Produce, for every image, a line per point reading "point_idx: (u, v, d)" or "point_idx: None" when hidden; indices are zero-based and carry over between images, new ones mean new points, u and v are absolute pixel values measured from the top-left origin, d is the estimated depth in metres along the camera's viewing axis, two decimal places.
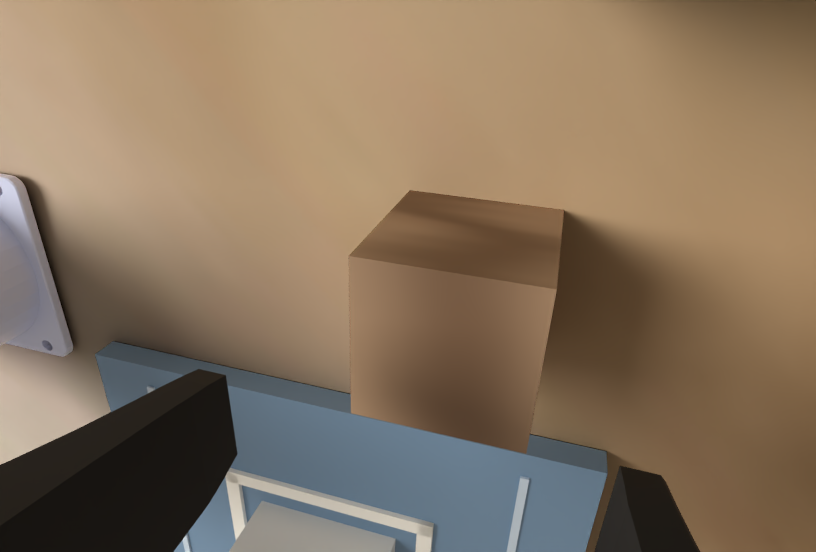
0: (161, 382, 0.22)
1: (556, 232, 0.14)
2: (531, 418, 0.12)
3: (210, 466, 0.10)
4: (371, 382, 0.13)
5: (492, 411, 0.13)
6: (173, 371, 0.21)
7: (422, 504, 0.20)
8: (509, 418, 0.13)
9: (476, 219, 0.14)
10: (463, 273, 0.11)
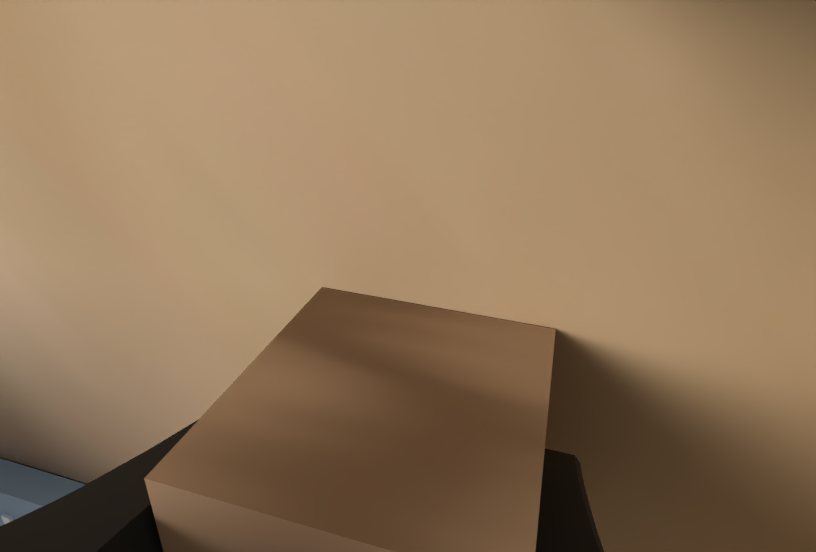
0: (18, 511, 0.16)
1: (540, 392, 0.08)
2: None
3: None
4: None
5: None
6: (30, 500, 0.16)
7: None
8: None
9: (409, 360, 0.09)
10: (349, 535, 0.06)
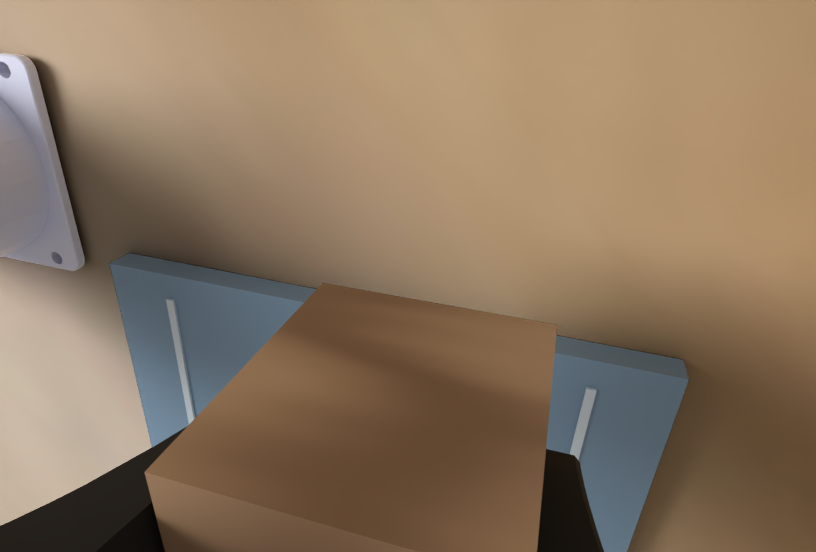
0: (183, 292, 0.20)
1: (542, 387, 0.08)
2: None
3: None
4: None
5: None
6: (195, 279, 0.19)
7: None
8: None
9: (410, 355, 0.09)
10: (349, 528, 0.06)
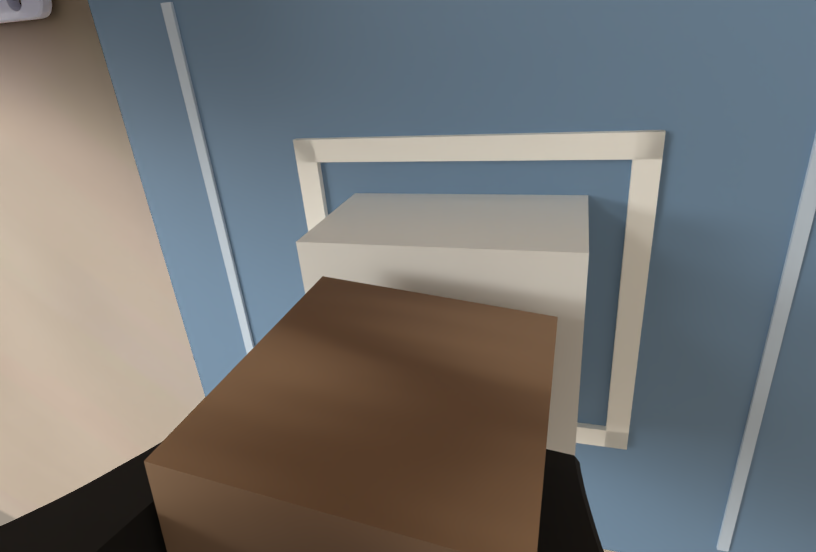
0: None
1: (543, 378, 0.08)
2: None
3: None
4: None
5: None
6: None
7: (644, 90, 0.12)
8: None
9: (410, 346, 0.09)
10: (350, 516, 0.06)
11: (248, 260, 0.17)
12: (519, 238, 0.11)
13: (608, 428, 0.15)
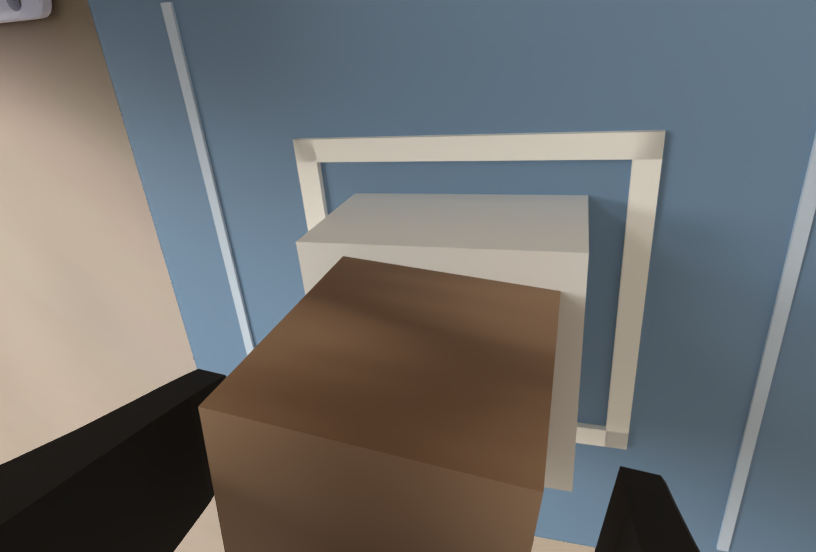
0: None
1: (548, 341, 0.09)
2: None
3: None
4: None
5: None
6: None
7: (644, 89, 0.12)
8: None
9: (428, 314, 0.09)
10: (382, 449, 0.07)
11: (248, 260, 0.17)
12: (519, 238, 0.11)
13: (608, 428, 0.15)
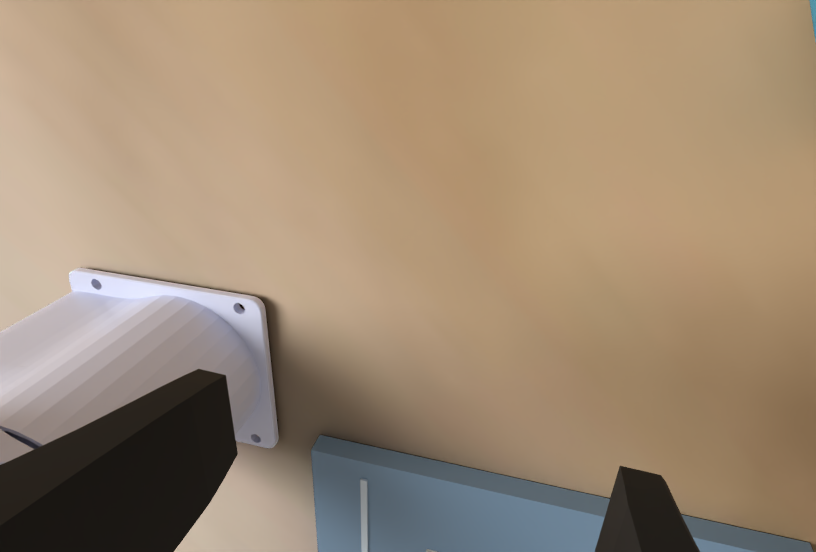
0: (376, 475, 0.24)
1: None
2: None
3: (210, 466, 0.10)
4: None
5: None
6: (390, 467, 0.23)
7: None
8: None
9: None
10: None
11: None
12: None
13: None
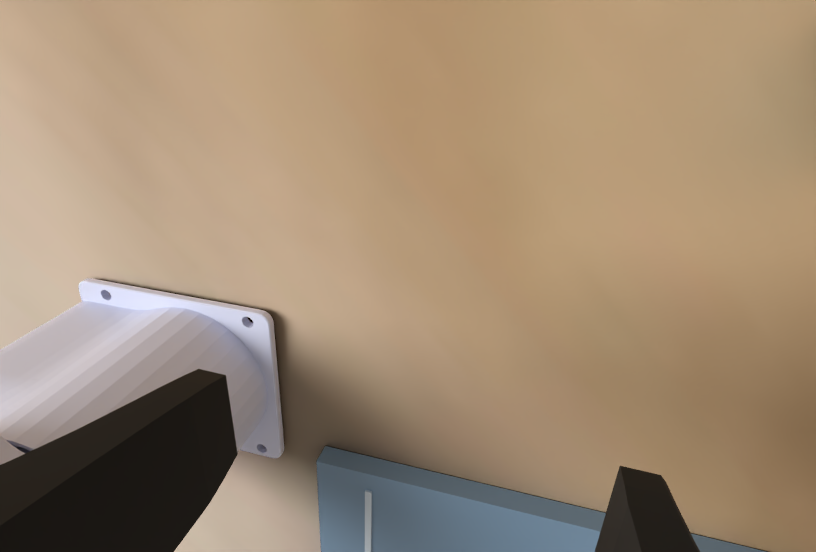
0: (381, 487, 0.24)
1: None
2: None
3: (210, 466, 0.10)
4: None
5: None
6: (394, 479, 0.24)
7: None
8: None
9: None
10: None
11: None
12: None
13: None
